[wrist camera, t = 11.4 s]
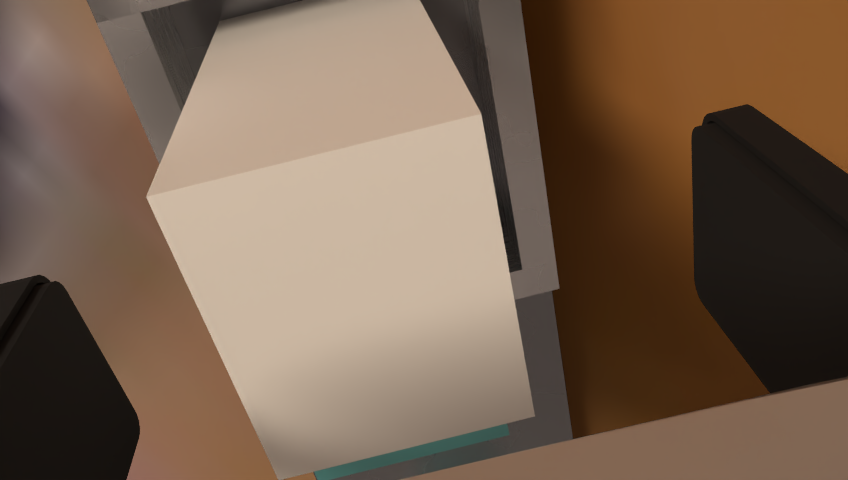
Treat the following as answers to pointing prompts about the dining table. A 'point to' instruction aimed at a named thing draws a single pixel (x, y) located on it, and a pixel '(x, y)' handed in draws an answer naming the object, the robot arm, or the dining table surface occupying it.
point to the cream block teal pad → (345, 237)
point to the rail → (506, 142)
